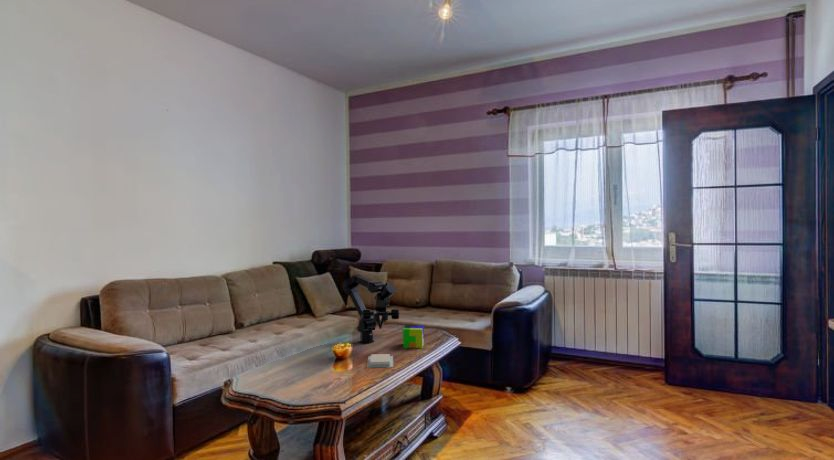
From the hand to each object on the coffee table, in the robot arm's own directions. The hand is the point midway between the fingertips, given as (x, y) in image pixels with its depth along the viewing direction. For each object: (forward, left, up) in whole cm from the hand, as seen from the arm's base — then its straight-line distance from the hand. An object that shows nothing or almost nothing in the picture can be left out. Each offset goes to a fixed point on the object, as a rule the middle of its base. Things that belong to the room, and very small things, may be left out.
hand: (380, 328), depth 230 cm
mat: (+9, -11, -13) cm, 19 cm away
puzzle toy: (+5, +21, -13) cm, 26 cm away
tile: (+7, -8, -11) cm, 15 cm away
